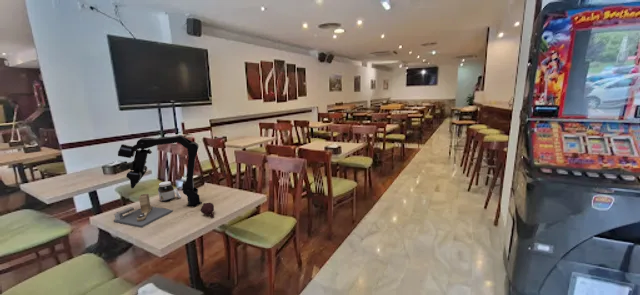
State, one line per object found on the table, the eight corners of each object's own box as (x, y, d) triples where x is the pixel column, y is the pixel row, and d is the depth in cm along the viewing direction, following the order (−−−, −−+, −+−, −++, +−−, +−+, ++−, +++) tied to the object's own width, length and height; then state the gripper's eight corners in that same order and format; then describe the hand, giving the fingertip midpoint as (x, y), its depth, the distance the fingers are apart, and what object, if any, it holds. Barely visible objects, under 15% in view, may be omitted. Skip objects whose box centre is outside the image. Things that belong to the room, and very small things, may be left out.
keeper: (144, 220, 143) (143, 214, 142) (110, 225, 138) (109, 219, 138) (152, 209, 156) (150, 204, 155) (121, 214, 152) (120, 208, 151)
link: (144, 220, 143) (141, 202, 140) (136, 221, 141) (132, 203, 139) (153, 208, 158) (150, 191, 155) (145, 209, 156) (142, 192, 154)
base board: (172, 211, 155) (172, 209, 155) (141, 227, 138) (141, 225, 137) (146, 207, 162) (146, 205, 162) (114, 222, 145) (113, 220, 145)
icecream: (195, 201, 152) (202, 212, 141) (207, 195, 156) (215, 205, 145) (199, 211, 155) (207, 222, 144) (211, 204, 159) (220, 215, 148)
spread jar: (157, 200, 173) (154, 183, 171) (175, 194, 182) (172, 178, 180) (166, 204, 167) (163, 186, 164) (184, 197, 176) (181, 181, 173)
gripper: (128, 153, 154) (122, 178, 155) (117, 160, 137) (111, 188, 138) (149, 157, 159) (144, 181, 160) (142, 164, 142) (136, 191, 143)
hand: (134, 185), depth 150 cm, fingers open, 9 cm apart
